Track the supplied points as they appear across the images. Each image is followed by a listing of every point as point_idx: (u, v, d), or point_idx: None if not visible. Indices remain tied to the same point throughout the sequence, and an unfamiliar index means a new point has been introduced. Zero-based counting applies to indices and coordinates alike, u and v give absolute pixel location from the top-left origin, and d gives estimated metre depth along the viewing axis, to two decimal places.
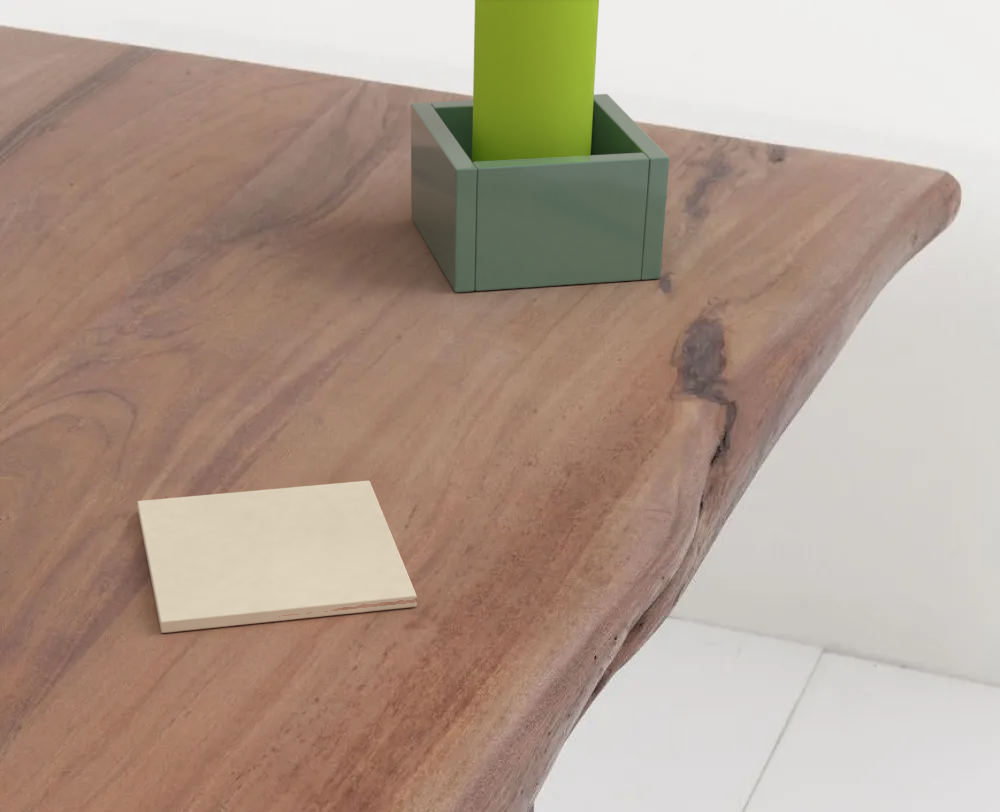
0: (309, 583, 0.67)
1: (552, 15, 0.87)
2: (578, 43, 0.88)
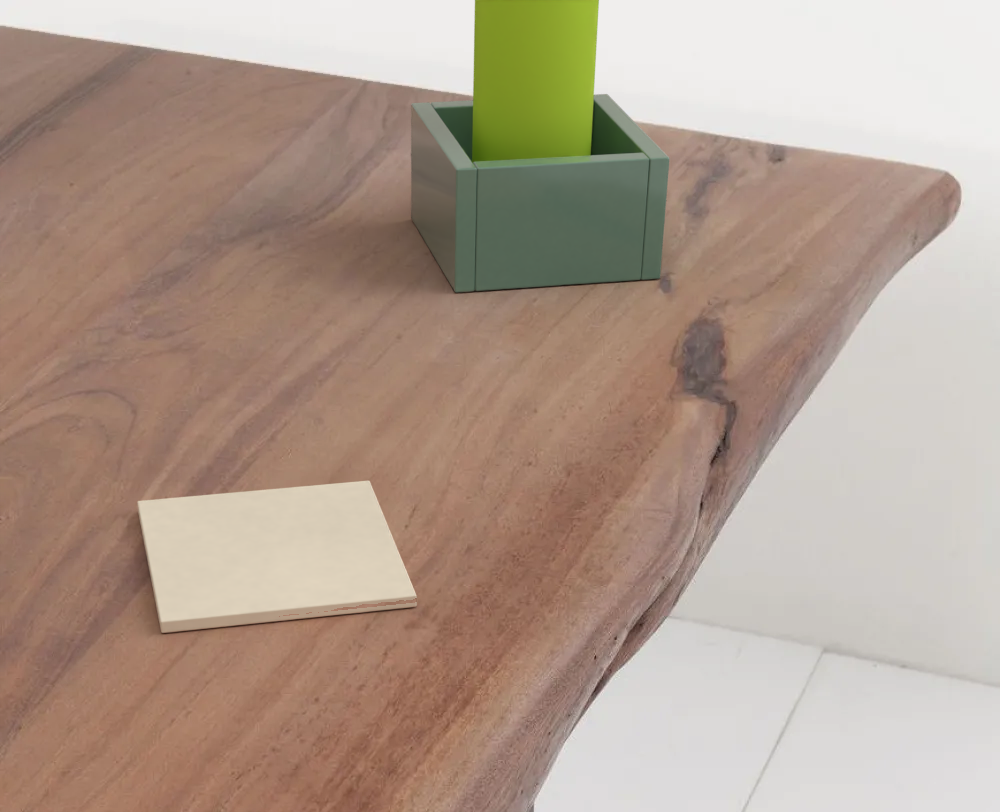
0: (309, 583, 0.67)
1: (552, 15, 0.87)
2: (578, 43, 0.88)
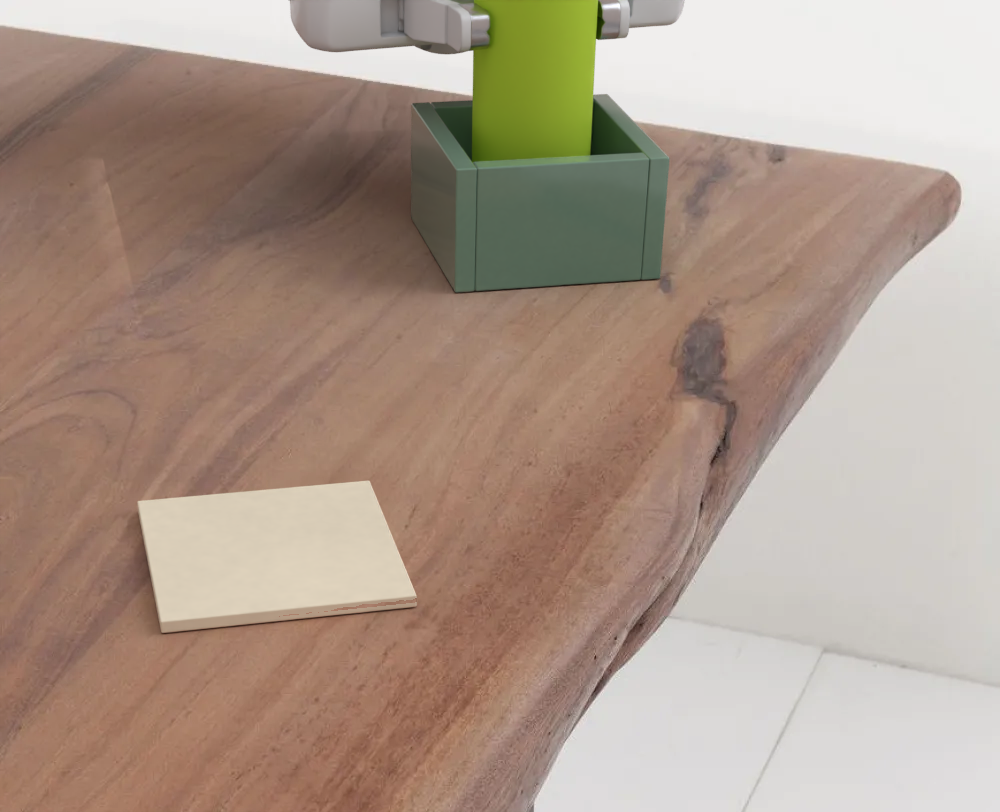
0: (309, 583, 0.67)
1: (551, 15, 0.87)
2: (577, 43, 0.88)
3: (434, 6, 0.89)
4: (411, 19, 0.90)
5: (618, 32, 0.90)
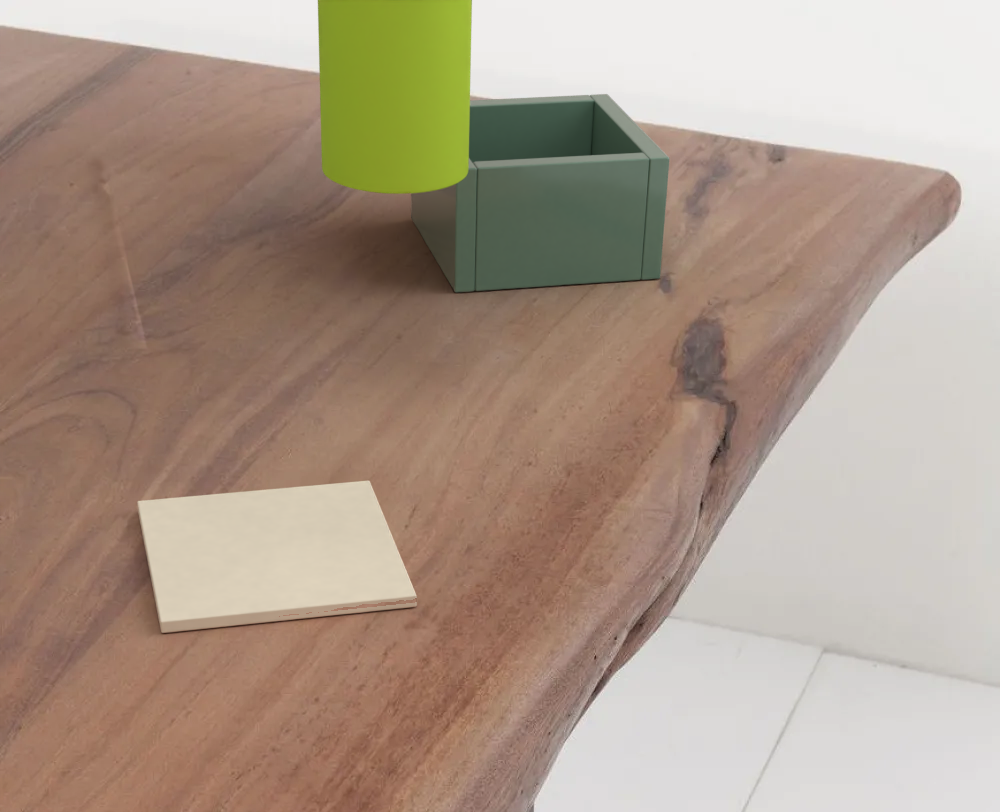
0: (309, 583, 0.67)
1: None
2: None
3: None
4: None
5: None
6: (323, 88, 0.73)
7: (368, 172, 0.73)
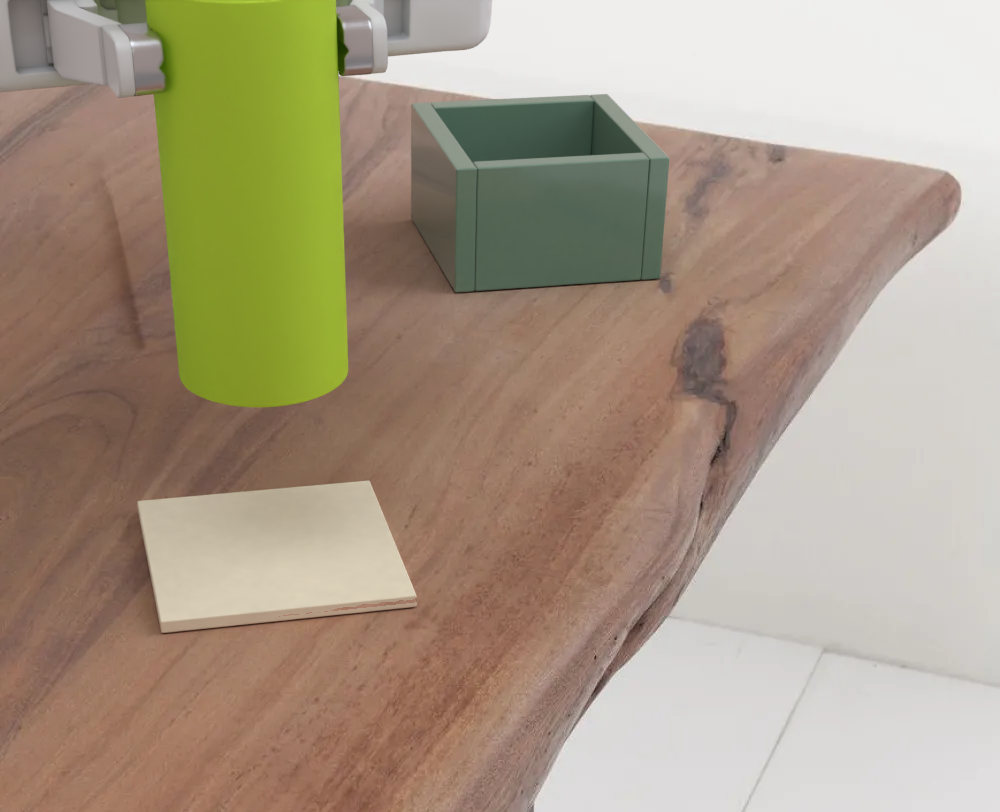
0: (309, 583, 0.67)
1: (254, 42, 0.56)
2: (301, 83, 0.58)
3: (84, 28, 0.58)
4: (57, 47, 0.60)
5: (371, 65, 0.60)
6: (173, 288, 0.63)
7: (226, 384, 0.63)
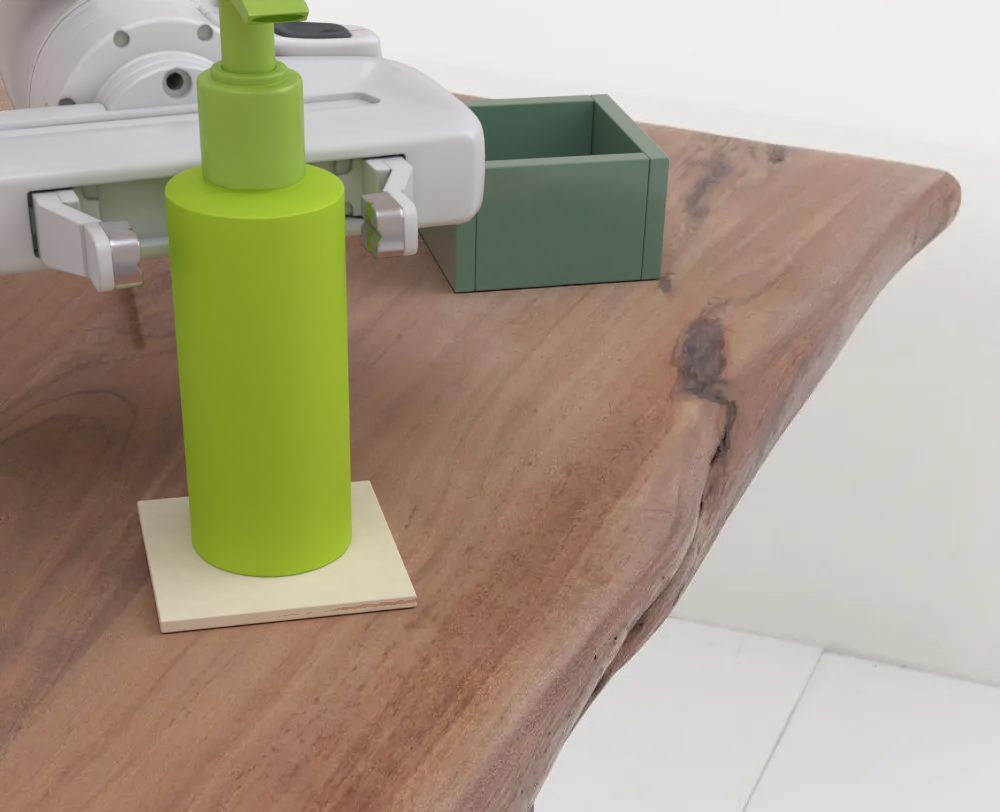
0: (309, 583, 0.67)
1: (269, 252, 0.60)
2: (312, 287, 0.62)
3: (66, 224, 0.61)
4: (41, 238, 0.63)
5: (402, 249, 0.64)
6: (188, 465, 0.67)
7: (237, 555, 0.67)
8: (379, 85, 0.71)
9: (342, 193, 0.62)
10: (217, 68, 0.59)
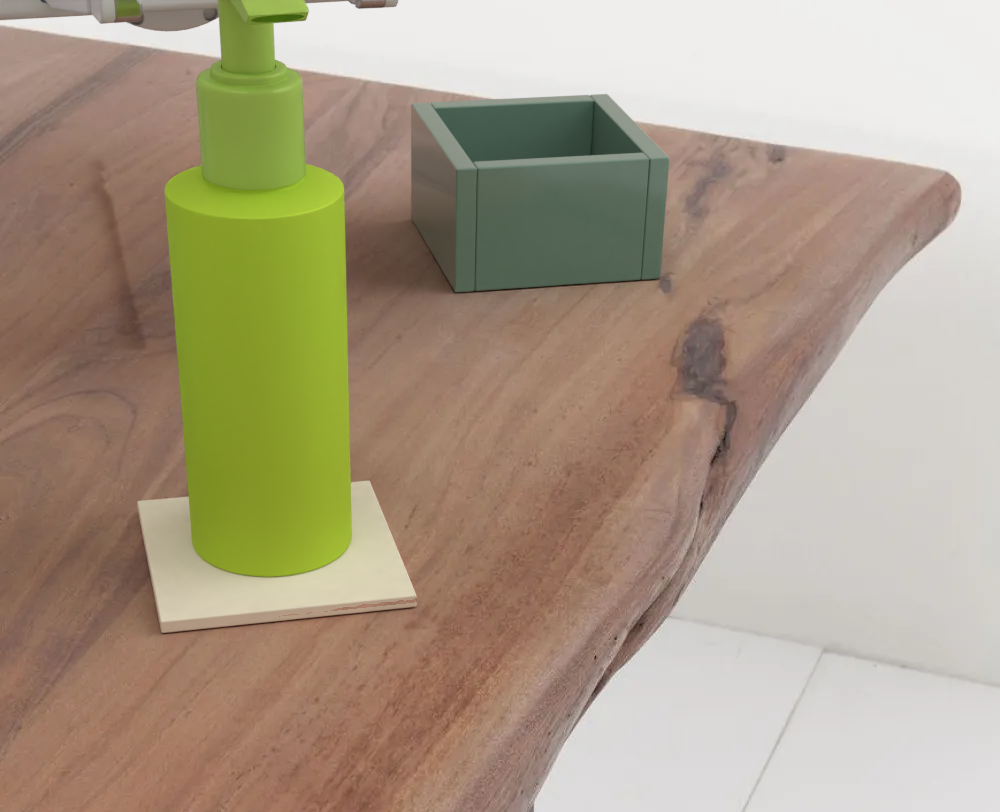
0: (309, 583, 0.67)
1: (268, 253, 0.60)
2: (311, 287, 0.62)
3: None
4: None
5: None
6: (188, 465, 0.67)
7: (237, 555, 0.67)
8: None
9: (342, 193, 0.62)
10: (217, 68, 0.59)
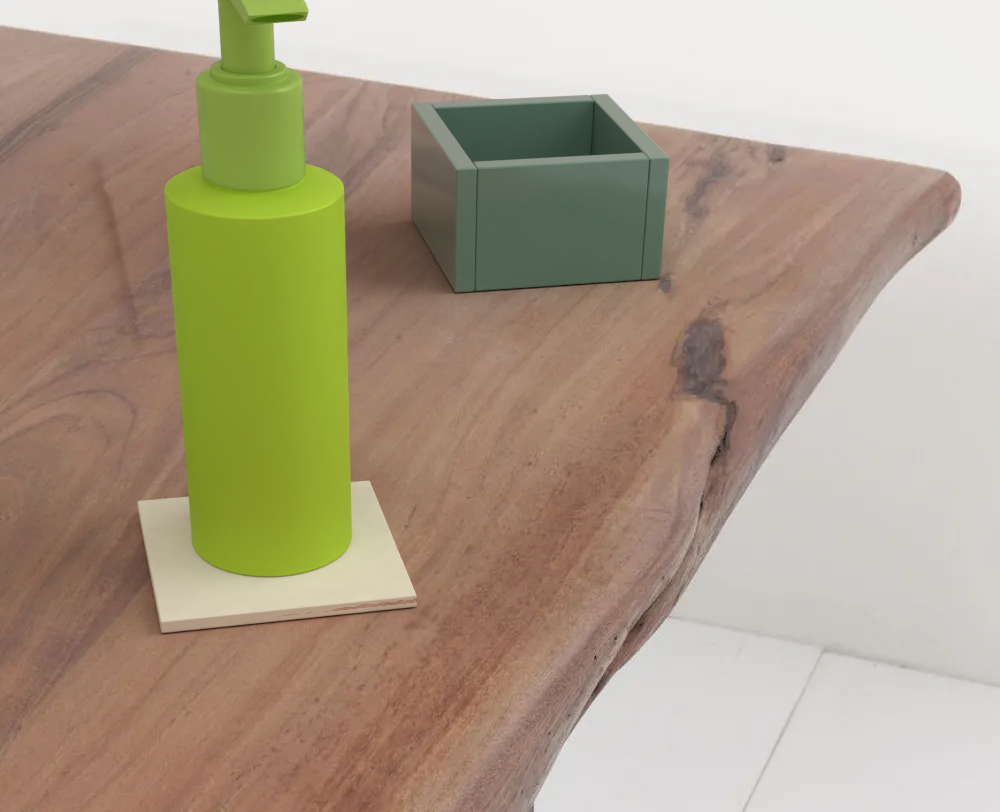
0: (309, 583, 0.67)
1: (268, 252, 0.60)
2: (311, 287, 0.62)
3: None
4: None
5: None
6: (188, 465, 0.67)
7: (237, 555, 0.67)
8: None
9: (342, 193, 0.62)
10: (217, 68, 0.59)
